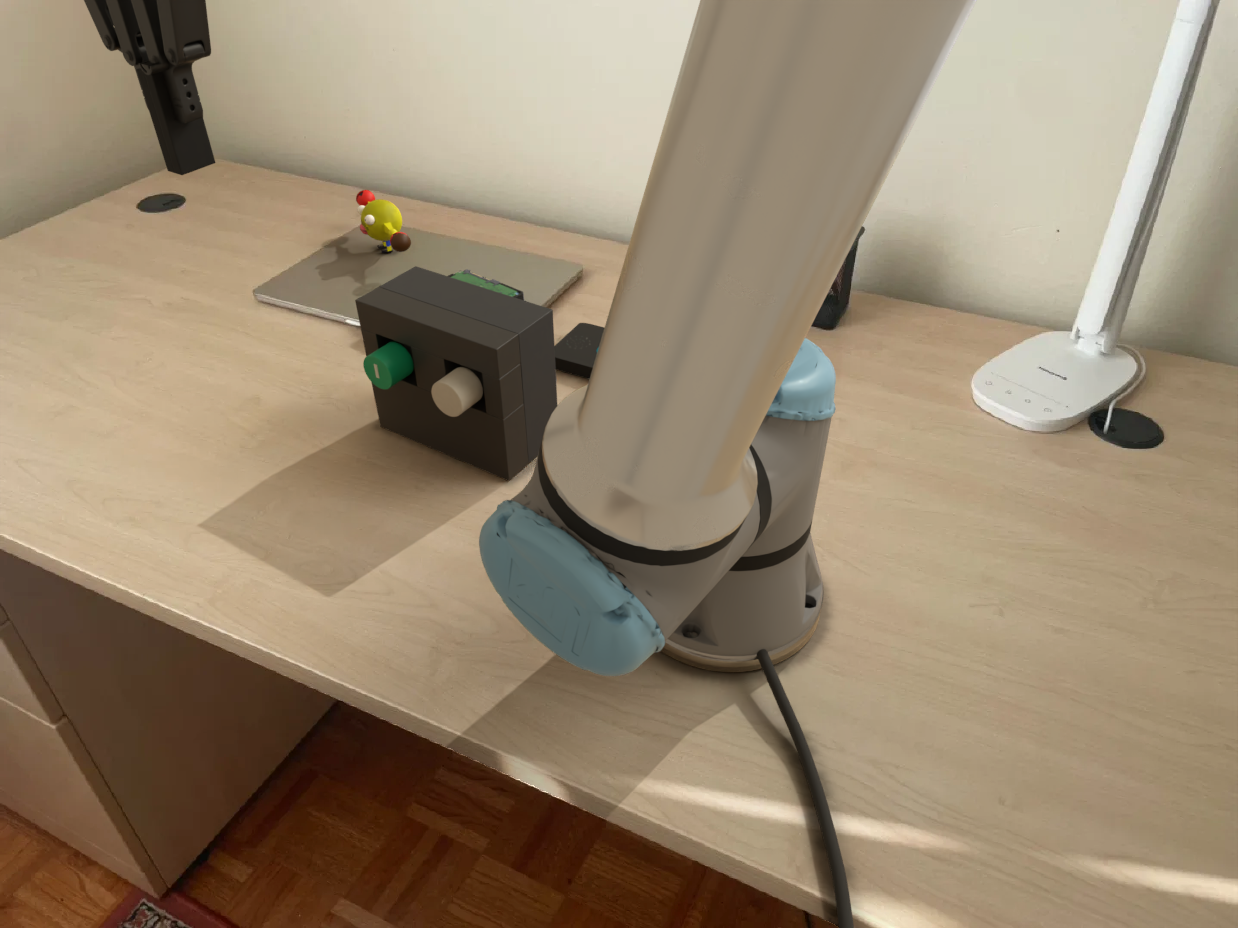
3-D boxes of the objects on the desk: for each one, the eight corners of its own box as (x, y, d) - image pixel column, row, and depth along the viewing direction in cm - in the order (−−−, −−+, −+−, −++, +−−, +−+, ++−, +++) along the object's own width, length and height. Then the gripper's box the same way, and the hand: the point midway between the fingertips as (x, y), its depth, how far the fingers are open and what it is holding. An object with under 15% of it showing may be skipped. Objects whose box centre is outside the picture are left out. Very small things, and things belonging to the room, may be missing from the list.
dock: (509, 481, 83) (496, 349, 74) (380, 426, 90) (354, 299, 81) (559, 437, 88) (552, 309, 80) (433, 388, 95) (415, 265, 86)
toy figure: (347, 229, 126) (337, 181, 122) (386, 221, 128) (378, 174, 124) (385, 281, 114) (376, 231, 110) (427, 272, 116) (420, 222, 112)
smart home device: (581, 319, 103) (747, 362, 96) (581, 332, 104) (745, 375, 97) (544, 353, 97) (717, 401, 90) (544, 367, 98) (716, 416, 91)
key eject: (463, 422, 78) (459, 389, 76) (433, 410, 79) (428, 377, 77) (485, 405, 80) (481, 373, 78) (455, 394, 81) (450, 361, 79)
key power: (393, 394, 81) (387, 362, 79) (366, 383, 83) (359, 351, 80) (416, 379, 83) (411, 347, 81) (388, 368, 85) (383, 337, 82)
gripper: (202, -283, 47) (301, 168, 61) (53, -281, 52) (177, 133, 67) (66, -287, 42) (209, 205, 56) (-83, -284, 47) (83, 165, 62)
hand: (191, 166), depth 62 cm, fingers closed
